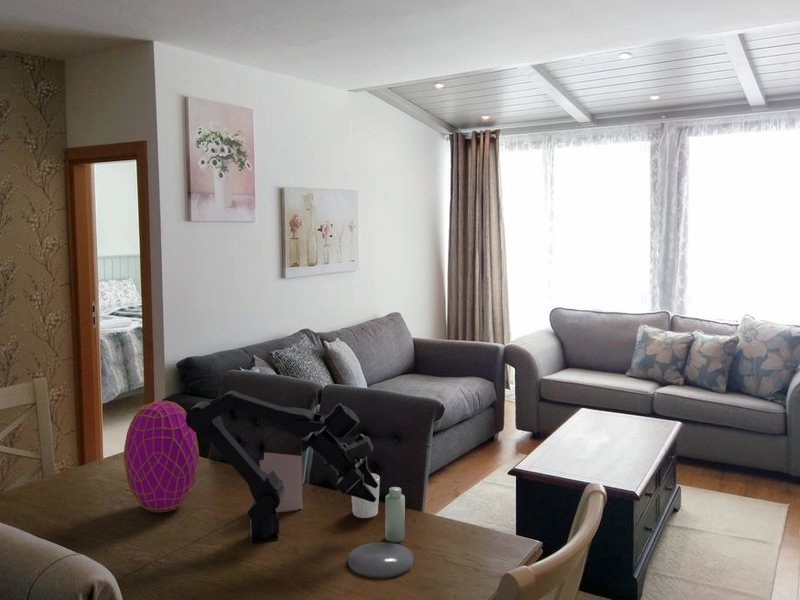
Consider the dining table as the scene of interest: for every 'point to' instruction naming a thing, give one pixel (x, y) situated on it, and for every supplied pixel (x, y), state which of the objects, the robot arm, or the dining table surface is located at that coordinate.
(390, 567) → the gray round disc
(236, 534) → the dining table surface
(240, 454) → the robot arm
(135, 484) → the decorative egg
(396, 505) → the pale green bottle
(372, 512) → the white cup
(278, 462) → the greeting card
